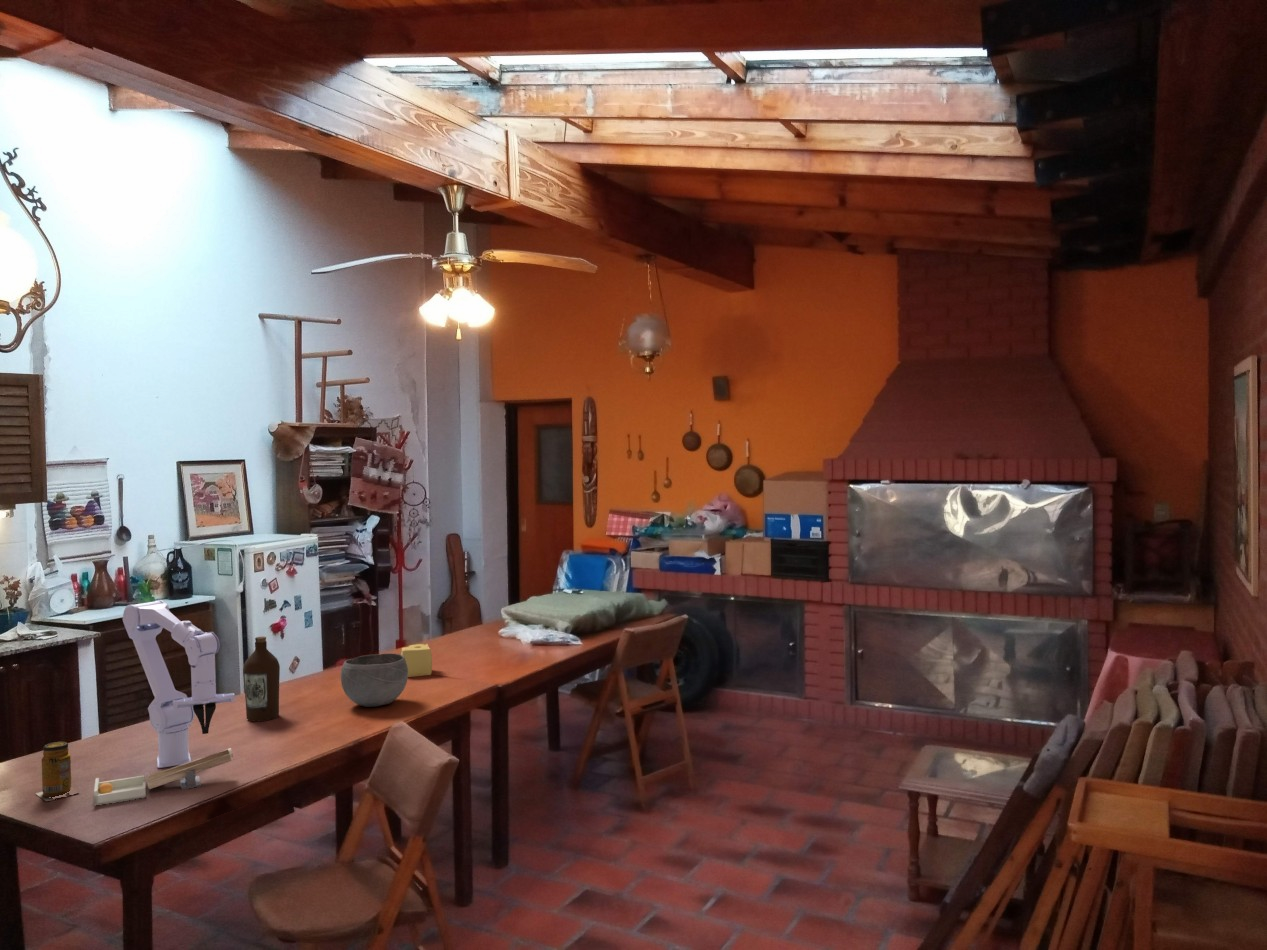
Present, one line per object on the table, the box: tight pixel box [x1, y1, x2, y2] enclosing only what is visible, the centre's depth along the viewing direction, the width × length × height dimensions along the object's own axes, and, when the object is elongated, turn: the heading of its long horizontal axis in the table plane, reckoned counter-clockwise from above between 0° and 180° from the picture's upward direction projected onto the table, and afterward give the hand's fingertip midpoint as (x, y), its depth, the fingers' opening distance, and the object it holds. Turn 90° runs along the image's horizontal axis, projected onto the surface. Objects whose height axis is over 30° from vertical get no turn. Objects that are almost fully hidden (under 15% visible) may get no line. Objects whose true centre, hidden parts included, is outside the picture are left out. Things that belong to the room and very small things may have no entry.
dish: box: [93, 775, 147, 807], centre depth 232 cm, size 10×11×4 cm
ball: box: [99, 783, 113, 794], centre depth 230 cm, size 3×3×3 cm
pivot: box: [179, 770, 202, 790], centre depth 239 cm, size 7×4×4 cm, turn 27°
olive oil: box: [242, 636, 281, 722], centre depth 298 cm, size 11×11×25 cm
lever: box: [146, 747, 235, 790], centre depth 242 cm, size 11×20×2 cm, turn 118°
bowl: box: [340, 652, 409, 708], centre depth 311 cm, size 21×21×15 cm
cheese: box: [400, 643, 433, 678], centre depth 354 cm, size 10×11×10 cm
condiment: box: [35, 741, 72, 802], centre depth 233 cm, size 7×8×12 cm
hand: (205, 732), depth 249 cm, fingers closed
